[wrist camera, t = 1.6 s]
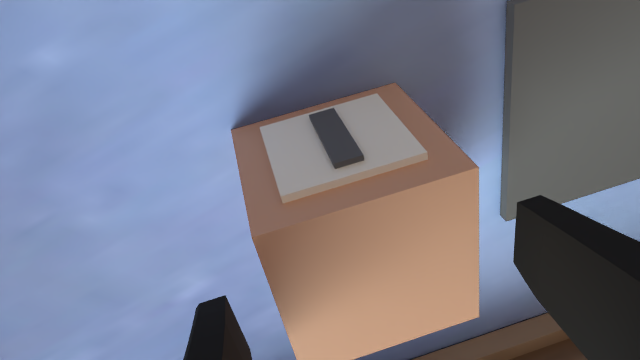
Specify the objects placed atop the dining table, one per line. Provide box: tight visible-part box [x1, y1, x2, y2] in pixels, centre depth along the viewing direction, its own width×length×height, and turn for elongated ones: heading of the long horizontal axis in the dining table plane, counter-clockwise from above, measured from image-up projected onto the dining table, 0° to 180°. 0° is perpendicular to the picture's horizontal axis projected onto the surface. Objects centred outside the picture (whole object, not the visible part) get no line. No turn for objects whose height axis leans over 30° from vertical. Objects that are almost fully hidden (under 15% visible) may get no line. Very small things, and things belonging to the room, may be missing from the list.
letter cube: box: [231, 83, 479, 360], centre depth 14 cm, size 5×5×5 cm
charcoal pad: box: [500, 0, 640, 221], centre depth 16 cm, size 8×8×1 cm
